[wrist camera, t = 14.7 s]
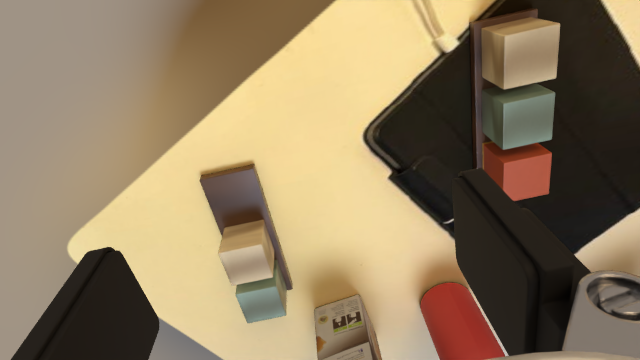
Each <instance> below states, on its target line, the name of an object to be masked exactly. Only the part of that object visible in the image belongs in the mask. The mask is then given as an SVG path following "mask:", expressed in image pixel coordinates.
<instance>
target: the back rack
mask: <svg viewBox="0 0 640 360" xmlns="http://www.w3.org/2000/svg"><path fill="white" fill-rule="evenodd" d="M200 182H201V185H202V187H203V190H204V192H205V195H206V197H207V200H208V202H209V205H210V207H211V210H212V212H213V215H214V217H215V220H216V222H217V225H218V227H219V230H220V232H221V235H222V240H221V244H220V248H219V252H218V254H219V256H220V259H221V261H222V263H223V266H224V268H225V271H226V273H227V275H228V278H229V280H230V283H231V285H232V286H234V285H237V289H236V297H237V299H238V302H239V304H240V307H241V309H242V311H243V314H244V316H245V318H246V321H247V323H252V322H257V321H262V320H267V319H271V318H276V317H281V316H286V293H287V290H291V289H292V281H291V278H290V274H289V271H288V268H287V265H286V262H285V259H284V256H283V253H282V249H281V246H280V243H279V240H278V237H277V234H276V231H275V228H274V224H273V221H272V218H271V215H270V212H269V209H268V206H267V203H266V199H265V196H264V193H263V190H262V187H261V184H260V181H259V178H258V174H257V171H256V168H255V165H254V164H253V165H248V166H243V167H239V168H234V169H230V170H225V171H220V172H216V173H211V174H207V175H202V176H201V178H200Z"/></svg>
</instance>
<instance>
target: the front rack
mask: <svg viewBox="0 0 640 360" xmlns="http://www.w3.org/2000/svg"><path fill="white" fill-rule="evenodd" d="M537 14H538V9H533V8H531V9H526V10H522V11H517V12H513V13H509V14H504V15H500V16H496V17H491V18H487V19H482V20H478V21H474V22H470V56H471V95H472V134H473V169H476V168H482V169H483V170H484V144H488V143H493V142H494V143H496V144H497V145H498V146H499V147H500V148H501V149H503V150H505V149H510V148H514V147H519V146H524V145H528V144H533V143H538V142H542V141H547V140H551V139H552V128H553V115H554V102H555V92H553V91H551V90H549V89H547V88H544V87H542V86H540V85H538V84H536V82H541V81H546V80H550V79H555V78H556V73H557V60H558V47H559V34H560V23H556V22H551V21H546V20H541V19H537Z"/></svg>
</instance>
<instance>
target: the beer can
mask: <svg viewBox="0 0 640 360" xmlns="http://www.w3.org/2000/svg"><path fill="white" fill-rule="evenodd" d="M420 308H421V311H422V314H423V317H424V319H425V322H426V325H427V327H428V330H429V332H430V335H431V338H432V340H433V343H434V345H435V348H436V351H437V353H438V356H439V358H440V360H486V359H492V358H498V357H505V354H504V352H503V351H502V349H501V347H500V345H499V343H498V342H497V340H496V338H495V336H494V334H493V333H492V331H491V329H490V327H489V325H488V324H487V322H486V320H485V318H484V316H483V315H482V313H481V311H480V309H479V308H478V306H477V304H476V302H475V300H474V299H473V297H472V295H471V293H470V292H469V290H468V289H467V288H466V287H464V286H462V285H461V284H457V283H442V284H439V285H436V286H434V287H433V288H431V289H430V290H429V291H427V292H426V293H425V295H424V297H423V298H422V300H421V306H420Z"/></svg>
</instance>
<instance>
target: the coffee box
mask: <svg viewBox="0 0 640 360" xmlns="http://www.w3.org/2000/svg"><path fill="white" fill-rule="evenodd" d="M314 313H315V329H316V342H317V356H318V360H382V358H381V354H380V349H379V345H378V341H377V337H376V334H375V332H374V329H373V327H372V324H371V322H370V319H369V317H368V314H367V312H366V310H365V307H364V305H363V303H362V300H361V298H360V296H359V295H355V296H352V297H349V298H346V299H343V300H340V301H336V302H333V303H330V304H327V305H324V306H321V307H318V308H316V309H315V310H314Z"/></svg>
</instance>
